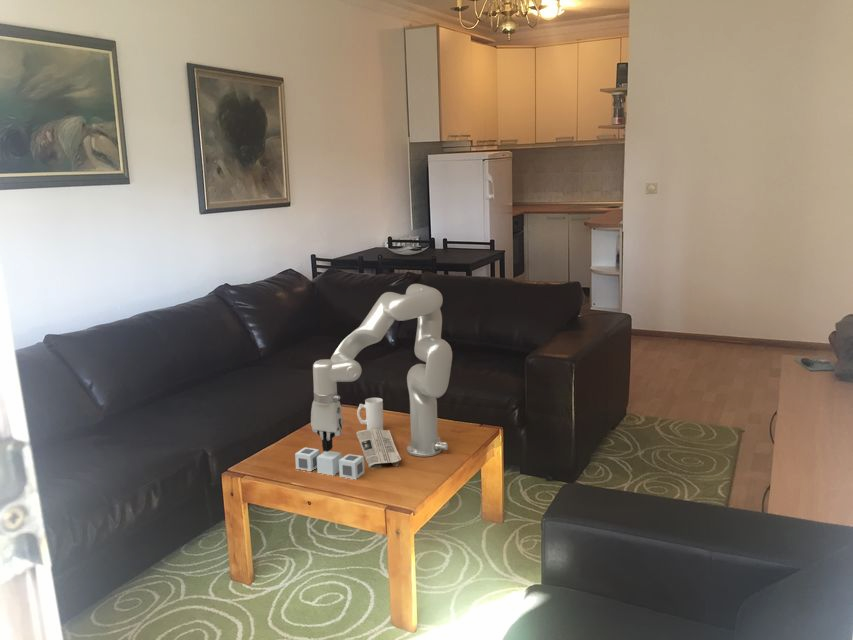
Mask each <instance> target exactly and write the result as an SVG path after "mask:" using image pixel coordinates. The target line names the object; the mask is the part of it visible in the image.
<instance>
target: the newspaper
mask: <svg viewBox="0 0 853 640" xmlns="http://www.w3.org/2000/svg"><path fill="white" fill-rule="evenodd" d="M356 437H357V440H358V442H359V445H360V447H361V450H362V453H363V456H364V459H365V462H366V464H367V467H368V469H369V470H370V469H371V470H373V469H379V468H383V464H390V463H391V464H392V466H393V467H398V466H399V465H400V461H401V460H402V457H401V456H400V453H399V452H398V450H397V447H396V445H395V441H394V439H393V437H392V434H391V432H390V429H387V430H386V429H384V428H383V429H369V430H367V429H364V430H363V429H362V430H358V431H356Z"/></svg>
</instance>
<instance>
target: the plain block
mask: <svg viewBox="0 0 853 640" xmlns="http://www.w3.org/2000/svg"><path fill="white" fill-rule="evenodd" d="M341 458H343V456H342V452H339V451H338V452H337V451H331V450H330V451H328V452H326V451H323V452H321V453H320V455H319V456H317V469H316V471H317V474H318V473H322V474H321V475H323V474H327V475H326V476H329V475H332V476H331V477H334V476H335V475H337V474H338V473H339V460H340V459H341ZM336 473H337V474H336ZM333 475H334V476H333Z"/></svg>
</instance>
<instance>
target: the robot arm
mask: <svg viewBox="0 0 853 640" xmlns="http://www.w3.org/2000/svg"><path fill="white" fill-rule="evenodd" d="M442 306H443V294H442V293H441V292H440V291H439V290H438V289H436V288H434V287H432V286H429V285H425V284H421V283H413V284H410V285H409V286H408V287H407V288H406V291H405V294H401V293H397V292H393V291H386V292H384V293H383V294H381V295H380V296H379V298H378V299H377V300H376V302H375V303H374V305H372V308H371V310H370V311H369V312H368V314H367V315H366V317H365V318H364V319H363V321H362V322H361V324H360V325H359V327H357V328H356V329H354V330H353V331H352V332H351V333H350V334H348V335H347V336H345V338H344V339H343V340H342V341H341V342H340V344H338V347H337V348H336V349H335V350H334V352H333V354H332V355H331V357H330V359H326V358H325V359H318V360H315V362H314V363H313V364H312V377H313V378H312V379H313V401H312V403H311V410H310V424H311V428H312V429H311V430H312V432H313V433H315V434H317V435H318V436H319V438H320V440H321V444H322V445H321V446H322V451H323V452H325V451H326V452H328V451H331V450H332V449H333V447H334V446H333V438H334V437H338V436H341V435H342V434H343V432H342V429H343V428H344V418H343V417H344V416H343V411H342V410H343V409H342V406H341V402H340V399H341V396H340V395H339V394H338V389H337V388H338V387H337V386H338V385H337V383H338V382H339V383H340V382H341V383H350V382H355V381H357V380H358V379H359V378H360V377H361V375H362V371H363V370H362V366H361V364H360V363H359V362H358V361H356V360H355V358H356V357H357V355H358V354H359V353H360V352H361V351H362V350H363V349H364V348H366V347H368V346H371V345H373V344H377V343H379V342H381V341H382V339H383V338H384V336H385V335H386V333H387V332H388V331H389V329H390V327H391V326H392V325H393V324H394V322H395V321H399V322H400V321H409V320H412V319H416V318H417V326H416V334H415V342H414V355H415V356H416V358H418V360H420V361H422V362H424V363H425V364H424V363H416V364H415V365H413V366H411V367H410V369H409V370H408V372H407V375H406V383H407V385H406V386H407V389H408V395H409V414H410V415H409V417H410V418H409V419H410V443H409V445H407V447H406V451H407V454H410V455H411V456H415V457H423V458H424V457H432V456H436V455H438V454H441V452H442V451H443V450H444V451H447V450H449V445H448V442H445V441H442V440H441V437H439V436H438V434H439V433H438V402H437V399H439V398H441V397H442V396H444V394H445V393H446V392H447V389H448V388H449V387H448V386H449V382H450V377H451V369H452V362H453V351H452V347H451V345H450V344H449V343H448V342H447V341H446V340H445V339H442V326H443V315H442V311H441V307H442Z"/></svg>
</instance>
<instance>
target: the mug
mask: <svg viewBox="0 0 853 640" xmlns="http://www.w3.org/2000/svg"><path fill="white" fill-rule="evenodd" d="M383 401H384V400H383V398H380V397H369V398H366V399H365V400H364V402H365V403H364V404H363V403H359V405H358V407H357V411H356V416H357V418H358V421H359V422H360V424H361V425H366V430H369V429H383V430H384V407H383V406H384V403H383ZM362 409H365V419H363V418H362V417H361V410H362Z"/></svg>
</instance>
